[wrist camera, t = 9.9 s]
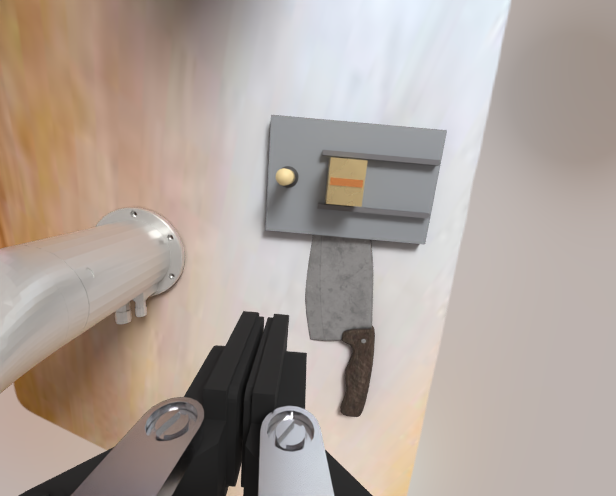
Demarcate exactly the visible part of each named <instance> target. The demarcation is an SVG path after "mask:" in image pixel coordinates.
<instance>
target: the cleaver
mask: <svg viewBox="0 0 616 496" xmlns="http://www.w3.org/2000/svg"><path fill="white" fill-rule="evenodd" d="M305 303H306V313H307V320H308V327H309V333H310V339H315V340H342V341H343V342H345V343H347V344H350V345H351V346H352V348H353V353H352V357H351V359H350V361H349V363H348V366H347V369H346V375H345V379H346V387H347V390H346V394H345V397H344V400H343V402H342V405H341V412H342V414H343V415H346V416H352V417H359V416H360V415H361V413H362V411H363V408H364V405H365V402H366V398H367V393H368V388H369V383H370V377H371V371H372V365H373V356H374V340H375V333H374V327H373V326H372V307H373V257H372V247H371V240H370V239H359V238H348V237H337V236H325V235H314V234H313V239H312V245H311V251H310V257H309V264H308V271H307V280H306V292H305Z"/></svg>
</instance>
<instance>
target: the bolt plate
mask: <svg viewBox="0 0 616 496" xmlns="http://www.w3.org/2000/svg"><path fill="white" fill-rule="evenodd" d="M446 133H447V130H437V129H426V128H414V127H403V126H392V125H381V124H369V123H358V122H347V121H336V120H324V119H313V118H302V117H291V116H279V115H271V129H270V149H269V169H268V189H267V208H266V228H265V230H269V231H280V232H292V233H303V234H314V235H325V236H337V237H348V238H359V239H370V240H381V241H393V242H404V243H415V244H425V242H426V237H427V232H428V226H429V221H430V216H431V211H432V206H433V200H434V195H435V190H436V185H437V179H438V174H439V169H440V164H441V159H442V153H443V148H444V143H445V138H446ZM331 157H333V158H345V159H356V160H367V161H368V162H367V169H366V177H365V184H364V192H363V200H362V207H358V206H347V205H336V204H326V202H325V195H326V185H327V175H328V165H329V159H330V158H331Z"/></svg>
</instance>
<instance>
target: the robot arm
mask: <svg viewBox="0 0 616 496" xmlns="http://www.w3.org/2000/svg"><path fill="white" fill-rule="evenodd" d="M136 213H137V214H136ZM172 236H173V237H172ZM184 263H185V251H184V246H183V243H182V241H181V238H180V236H179V234H178V233H177V231H176V230H175V228H174V227H173V226H172V225H171V224H170V223H169V222H168V221H167V220H166V219H165V218H163V217H162V216H161V215H159V214H157V213H155V212H153V211H150V210H147V209H144V208H137V207H131V208H123V209H118V210H115V211H113V212H110V213H109V214H107V215H106V216H104V217H103V218H102V219H101V220H100V221H99V222H98V223H97V225H96V227H93V228H89V229H85V230H80V231H76V232H72V233H67V234H63V235H59V236H54V237H50V238H45V239H41V240H37V241H32V242H28V243H24V244H19V245H15V246H10V247H5V248H1V249H0V393H1V392H3V391H4V390H5V389H6V388H7V387H9V386H10V385H11V384H12V383H13V382H15V381H16V380H17V379H18V378H20V377H21V376H22V375H24V374H25V373H26V372H27V371H29V370H30V369H31V368H33V367H34V366H35V365H37V364H38V363H40V362H41V361H42V360H44V359H45V358H47V357H48V356H50V355H51V354H52V353H54V352H55V351H57V350H58V349H60V348H61V347H63V346H64V345H66V344H67V343H69V342H70V341H71V340H73V339H75V338H76V337H78V336H79V335H81V334H82V333H84V332H85V331H87V330H88V329H90V328H91V327H93V326H94V325H96V324H97V323H99V322H100V321H101V320H103V319H104V318H106V317H107V316H109V315H110V314H112V313H113V312H115V323H117V324H126V323H129V322H131V320H132V315H131V307H130V301H131V300H133V301H135V315H136V317H143V316H145V315H147V306H146V300H147V299H148V297H150V296H154V295H158V294H160V293H162V292H164V291H166V290H167V289H169V288H170V287H171V286H172V285H173V284H175V283H176V282H177V280H178V279H179V277H180V276H181V273H182V271H183V269H184ZM173 274H174V275H173ZM288 324H289V315H282V314H274V317H273V318H270V317H268V319H267V322H266V325H265V329H264V317H259V313H258V312H246V311H243V313H242V315H241V317H240V319H239V321H238V323H237V325H236V327H235V328H234V330H233V332H232V334H231V336H230V338H229V340H228V342H227V344H226V346H214V347H213V348H212V350H211V351H210V353H209V355H208V356H207V358H206V360H205V362H204V363H203V365H202V367H201V368H200V370H199V372H198V374H197V375H196V377H195V379H194V380H193V382H192V384H191V386H190V387H189V389H188V391H187V392H186V394H185V396H184V397H177V398H171V399H168V400H165V401H162V402H160V403H159V404H157V405H155V406H153V407H152V408H151V409H150V410H148V411H147V412H146V413H145V414H144V415H143V416H142V417H141V419H140V420H139V421H138V422H137V423H136V424H135V425H134V426H133V427H132V428H131V430H130V431H129V432H128V433H127V434H126V435H125V436H124V437H123V438H122V439H121V441H120V442H119V443H118V444H117V445H116V446H115V447H113V448H111V449H109V450H107V451H105V452H104V453H101V454H99V455H97V456H96V457H94V458H92V459H89V460H87V461H86V462H83V463H82V464H80V465H77V466H76V467H74V468H72V469H70V470H68V471H66V472H64V473H62V474H60V475H58V476H56V477H54V478H52V479H50V480H48V481H46V482H44V483H42V484H40V485H38V486H36V487H34V488H32V489H30V490H28V491H26V492H24V493H23V494H21V495H19V496H226V494H227V490H228V486H235V485H236V482H237V479H238V475H239V471H240V467H241V463H242V470H241V487H244V494H243V496H372V495H371V494H370V493H369V492H368V491H367V490H366V489H365V488H364V487H363V486H362V485H361V484H360V483H359V482H358V481H357V480H356V479H355V478H354V477H353V476H352V475H351V474H350V473H349V472H348V471H347V470H346V469H345V468H344V467H343V466H341V465H340V464H339V463H338V462H337V461H336V460H335V459H334V458H333V457H332V456H331V455H330V454H329V453H328V452H327V451H326V450H325V448H324V443H323V438H322V433H321V429H320V426H319V423H318V421H317V419H316V418H315V417H314V416H313V414H311V413H310V412H308V411H307V410H305V390H306V357H307V353H300V352H288V351H286V350H287V337H288ZM263 330H264V332H263Z"/></svg>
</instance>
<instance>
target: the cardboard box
mask: <svg viewBox="0 0 616 496" xmlns="http://www.w3.org/2000/svg"><path fill="white" fill-rule="evenodd" d="M367 162H368V161H367V160H356V159H345V158H333V157H331V158H330V159H329V165H328V175H327V185H326V195H325V202H326V204H336V205H347V206H358V207H362V200H363V192H364V184H365V177H366V169H367Z"/></svg>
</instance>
